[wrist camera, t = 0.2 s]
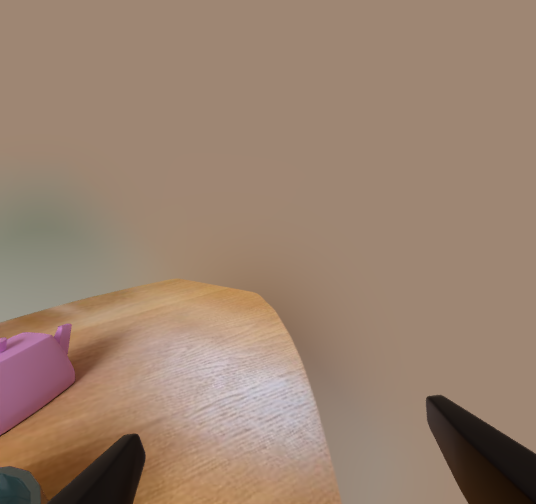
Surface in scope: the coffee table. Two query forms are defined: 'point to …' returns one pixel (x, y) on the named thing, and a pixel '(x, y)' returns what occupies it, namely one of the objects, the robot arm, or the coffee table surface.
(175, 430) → the coffee table surface
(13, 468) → the basin
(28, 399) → the teapot
